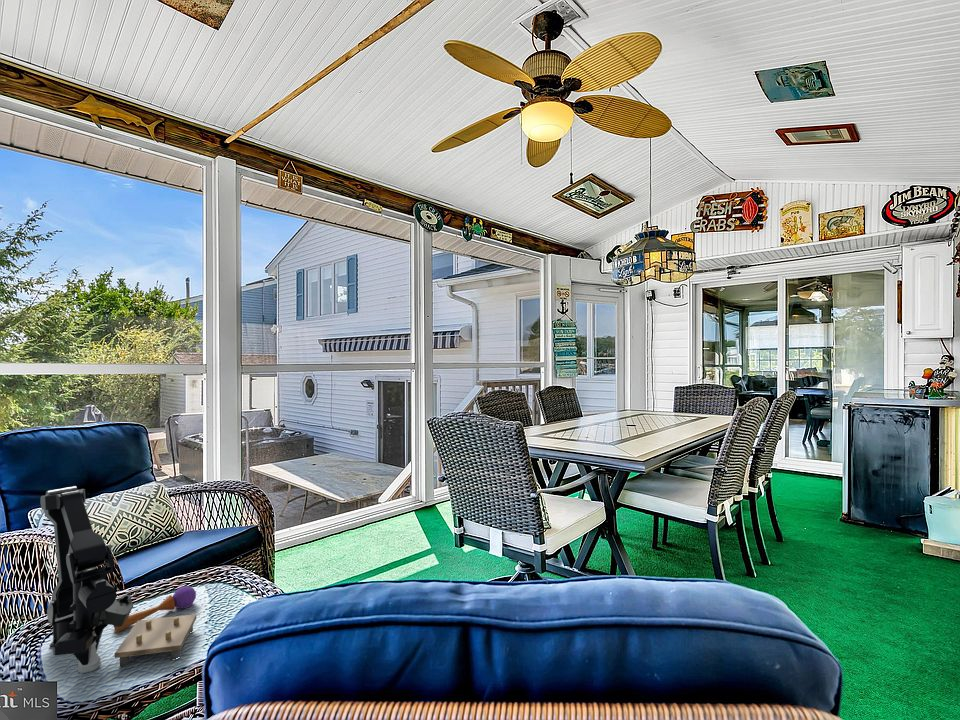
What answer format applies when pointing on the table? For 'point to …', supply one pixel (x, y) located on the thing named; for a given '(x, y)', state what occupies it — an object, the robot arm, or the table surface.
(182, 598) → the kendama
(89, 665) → the rook chess piece
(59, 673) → the table surface
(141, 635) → the peg board
